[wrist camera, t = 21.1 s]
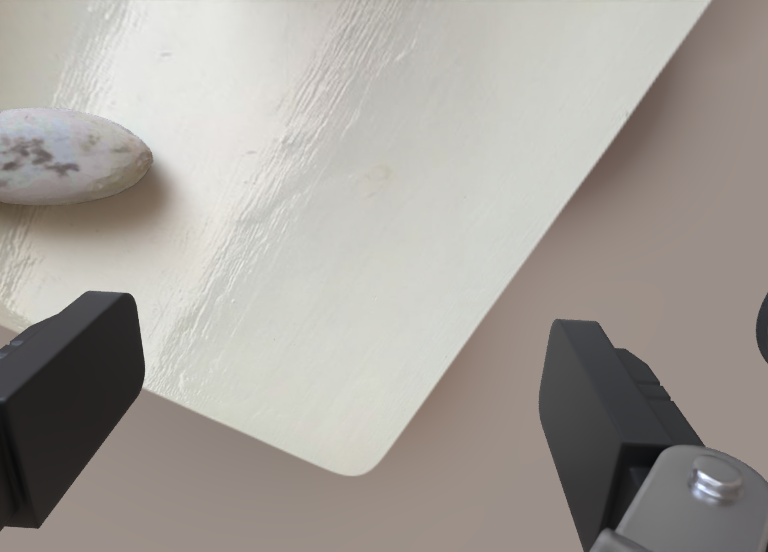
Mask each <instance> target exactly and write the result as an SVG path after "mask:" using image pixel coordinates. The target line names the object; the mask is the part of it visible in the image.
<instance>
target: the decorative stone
mask: <svg viewBox="0 0 768 552" xmlns="http://www.w3.org/2000/svg"><path fill="white" fill-rule="evenodd" d="M152 161H153V157H152V152H151V151H150V149H149V148H148V147H147V145H146V144H145V143H144V142H143V141H142V140H141V139H139V138H138V137H137V136H136V135H134V134H133V133H132V132H131V131H129V130H128V129H126V128H124V127H122V126H121V125H119V124H117V123H115V122H112V121H110V120H108V119H105V118H102V117H99V116H95V115H92V114H88V113H83V112H79V111H73V110H66V109H54V108H22V109H13V110H6V111H0V202H4V203H10V204H21V205H37V206H49V205H65V204H73V203H81V202H87V201H91V200H97V199H100V198H104V197H108V196H112V195H114V194H117V193H120V192H122V191H124V190H126V189H127V188H129V187H131V186H132V185H134V184H135V183H137V182H138V181H139V180H140V179H141V178H142V177H143V176H144V175H145V174H146V172H147V171H148V169H149V167H150V166H151V164H152Z"/></svg>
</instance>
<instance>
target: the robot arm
mask: <svg viewBox="0 0 768 552" xmlns="http://www.w3.org/2000/svg"><path fill="white" fill-rule="evenodd" d="M144 376H145V361H144V354H143V347H142V340H141V333H140V326H139V319H138V312H137V306H136V302H135V299H134V297H133V296H132V295H131V294H129V293H118V292H101V291H87V292H85V293H84V294H82V295H81V296H80V297H79V298H77V299H76V300H75V301H74V302H73V303H71V304H70V305H69V306H68V307H66V308H65V309H64V310H63V311H61V312H60V313H59V314H56V315H54V316H52V317H50V318H48V319H45V320H43V321H41V322H39V323H36V324H34V325H32V326H30V327H28V328H27V329H26V330H25V331H23V332H22V333H21V334H19V335H18V336H17V337H16V338H14V339H13V340H12V341H10V345H5V346H4V347H3V348H1V349H0V531H1V530H2V529H3V527H4V526H8V527H23V528H37V529H38V528H40V526H41V525H42V523H43V522H44V521H45V519H46V518H47V517H48V515H49V514H50V513H51V511H52V510H53V509H54V507H55V506H56V505H57V503H58V502H59V501H60V499H61V498H62V497H63V495H64V494H65V493H66V491H67V490H68V489H69V487H70V486H71V485H72V483H73V482H74V481H75V479H76V478H77V477H78V475H79V474H80V473H81V471H82V470H83V469H84V467H85V466H86V465H87V463H88V462H89V461H90V459H91V458H92V457H93V455H94V454H95V453H96V451H97V450H98V449H99V447H100V446H101V445H102V443H103V442H104V441H105V439H106V438H107V437H108V435H109V434H110V433H111V431H112V430H113V429H114V427H115V426H116V425H117V423H118V422H119V421H120V419H121V418H122V416H123V415H124V414H125V413H126V411H127V410H128V409H129V407H130V406H131V404H132V403H133V402H134V401H135V399H136V398H137V396H138V395H139V393H140V391H141V388H142V385H143V381H144ZM539 413H540V420H541V424H542V427H543V430H544V433H545V436H546V439H547V442H548V445H549V448H550V451H551V454H552V457H553V460H554V463H555V466H556V469H557V472H558V475H559V478H560V481H561V484H562V487H563V490H564V493H565V496H566V499H567V502H568V505H569V508H570V511H571V514H572V517H573V520H574V523H575V526H576V529H577V532H578V535H579V538H580V541H581V544H582V547H583V550H584V552H768V482H767V481H766V480H765V479H764V478H763V477H762V476H761V475H760V474H759V473H758V472H756V471H755V470H754V469H753V468H751V467H750V466H748V465H747V464H745V463H744V462H742V461H740V460H738V459H736V458H735V457H732V456H730V455H728V454H726V453H723V452H720V451H718V450H715V449H711V448H708V447H705V445H704V444H703V442H702V441H701V440H700V438H699V437H698V435H697V434H696V432H695V431H694V430H693V428H692V427H691V426H690V424H689V423H688V421H687V420H686V418H685V417H684V416H683V414H682V413H681V411H680V410H679V408H678V407H677V406H676V404H675V403H674V401H671V400H670V396H669V395H668V393H667V392H666V390H665V389H664V387H663V386H660V382H659V380H658V379H657V377H656V376H655V375H654V373H653V372H652V370H651V369H650V368H649V366H648V365H647V364H646V363H644V362H643V361H642V360H640V359H639V358H637V357H636V356H635V355H633V354H632V353H630V352H629V351H628V350H626V349H619V348H614V346H613V345H612V343H611V342H610V340H609V339H608V337H607V335H606V334H605V332H604V331H603V329H602V328H601V326H600V325H599V323H598V322H596V321H581V320H565V319H556V320H554V322H553V324H552V326H551V330H550V335H549V341H548V346H547V352H546V357H545V363H544V368H543V374H542V380H541V386H540V391H539Z"/></svg>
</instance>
